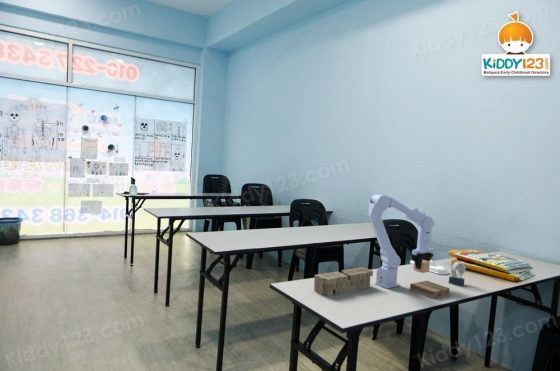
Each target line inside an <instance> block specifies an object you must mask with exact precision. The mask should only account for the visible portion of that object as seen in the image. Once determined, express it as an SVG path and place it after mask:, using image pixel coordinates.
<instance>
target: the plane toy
mask: <svg viewBox="0 0 560 371" xmlns="http://www.w3.org/2000/svg"><path fill="white" fill-rule="evenodd" d="M409 264H410V265H412V266H414V260H410V261H409ZM429 272H432V273H434V274H437V275H449V272H448V270H447V268H446V267H445V266H441V265H438V264H436V262H435V261H434V260H432V259H431V260H430V266H429Z"/></svg>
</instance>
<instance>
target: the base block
mask: <svg viewBox="0 0 560 371" xmlns="http://www.w3.org/2000/svg"><path fill="white" fill-rule="evenodd" d="M409 285H410V286H409V291H410V292H414V293H416V294H419V295H421V296H424V297H427V298H430V299H432V300H434V299H438V298H442V297H445V296H449V295H450V288H449V287H447V286H444V285H442V284H438V283H435V282H431V281H429V280H424V281H417V282H413V283H410V284H409Z"/></svg>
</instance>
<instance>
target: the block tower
mask: <svg viewBox="0 0 560 371" xmlns="http://www.w3.org/2000/svg"><path fill="white" fill-rule="evenodd" d="M373 276H374V270H372V269H369V268H365V267H361V266H360V267H358V266H357V267H355V268H349V269H343V270H342V269H341V272H340V271H332V272H325V273H320V274H314V279H313V280H314V281H313V282H314V286H313V287H314V288H313V291H314V292H315V293H317V294H319V295H321V296H323V295H324V294H325V296H326V297H330V295H331V296H334V295H340V293H341V294H345V293H350V292H355V291H359V290H365V289H369V288H370V287H371V277H373Z"/></svg>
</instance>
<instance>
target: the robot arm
mask: <svg viewBox="0 0 560 371" xmlns="http://www.w3.org/2000/svg"><path fill="white" fill-rule="evenodd" d="M368 203H369V206H368V211H367V212H368V213H367V214H368V218H369V221H370V224H371V226H372V229H373V232H374V234H375V236H376V239H377V240H376V241H377V243H378V245H379V247H380V249H379V252H380V261H381V262H382V264H381V265H382V266H381V267H379V268H377V270H376V279H375V280H376V281H375V282H374V284H375V285H377V286H380V287H383V288H385V289H391V288H396V287H400V286H401V284H399V283H398V282H397V280H398V271H399V270H398V268H399V266H400V265H401V261H402V260H401V258H400V256H399V255H398V254H397V252H396V250H395V249H394V247H393V246H392V244H391V240H390V238H389V234H388V233H387V230H386V227H385V224H384V221H383V219H382V215H383V213H384V212H386V210H387V209H388V208H390V209H392V208H394V209H396V210H397V211H399V212H400V213H403V214H404V215H405V217H406V219H408V220H410V221H412V222H413V223H415V224H416V225H417V226H418V230H417V231H418V232H417V243H416V248H415V249H412V250H411V256H412V259H413V261H415V266H416V268H417V269H421V264H422V260H426V261H429V262H430V260H432V258H433V257H434V251H435V249H434V247H431V238H432V229H433V228H434V226H435V222H434V219H433V218H432V217H431V216H429V215H426V213H425V212H421V211H420V210H419V208H417V207H407V206H406V205H404V204H403V203H401V202H400V201H398V200H397V199H396V198H393V197H390V196H388V195H386V194H384V195H383V194H380V193H374V194H372V195H371V196H370V199H369V200H368Z"/></svg>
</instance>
